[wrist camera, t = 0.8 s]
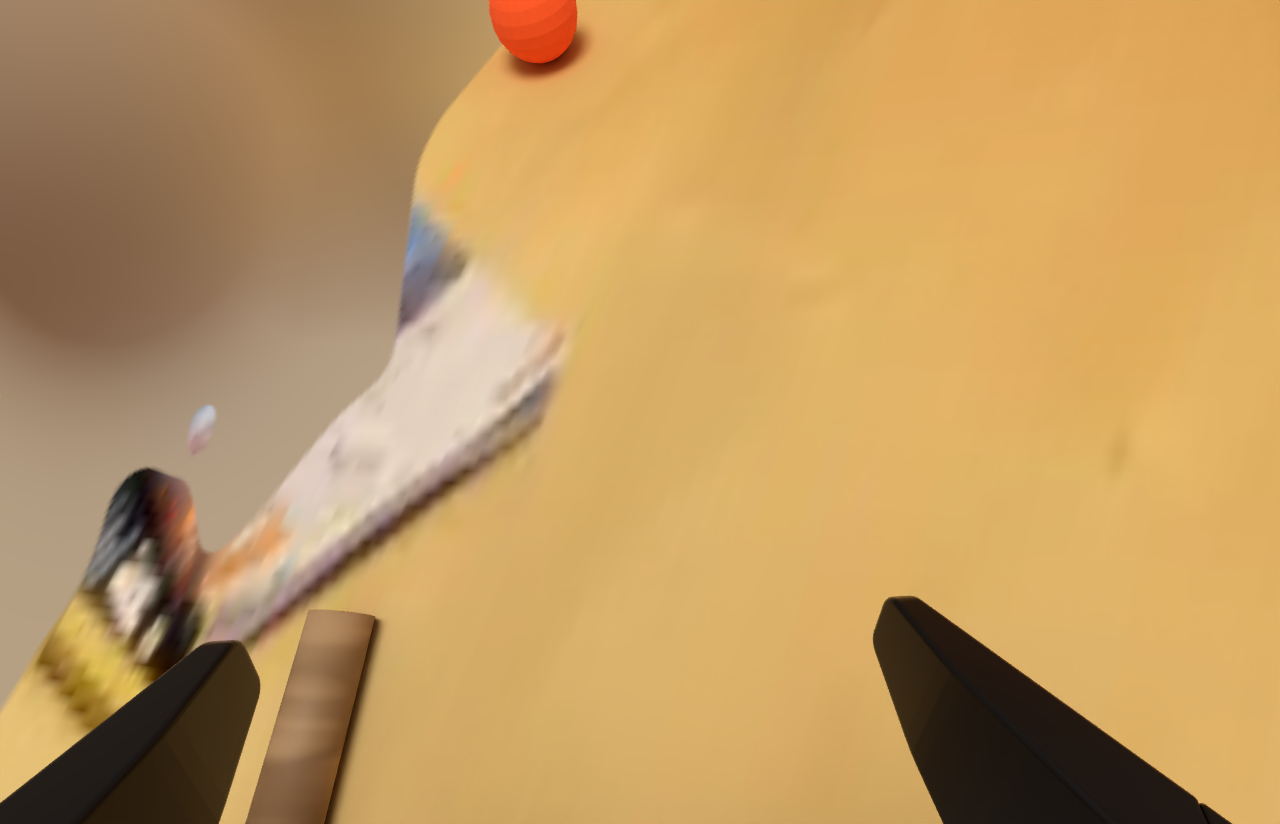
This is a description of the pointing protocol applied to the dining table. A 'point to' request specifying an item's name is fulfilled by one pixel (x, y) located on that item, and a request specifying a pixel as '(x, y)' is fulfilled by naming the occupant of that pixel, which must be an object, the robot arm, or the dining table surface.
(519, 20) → the clementine
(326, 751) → the roller
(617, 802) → the dining table surface
